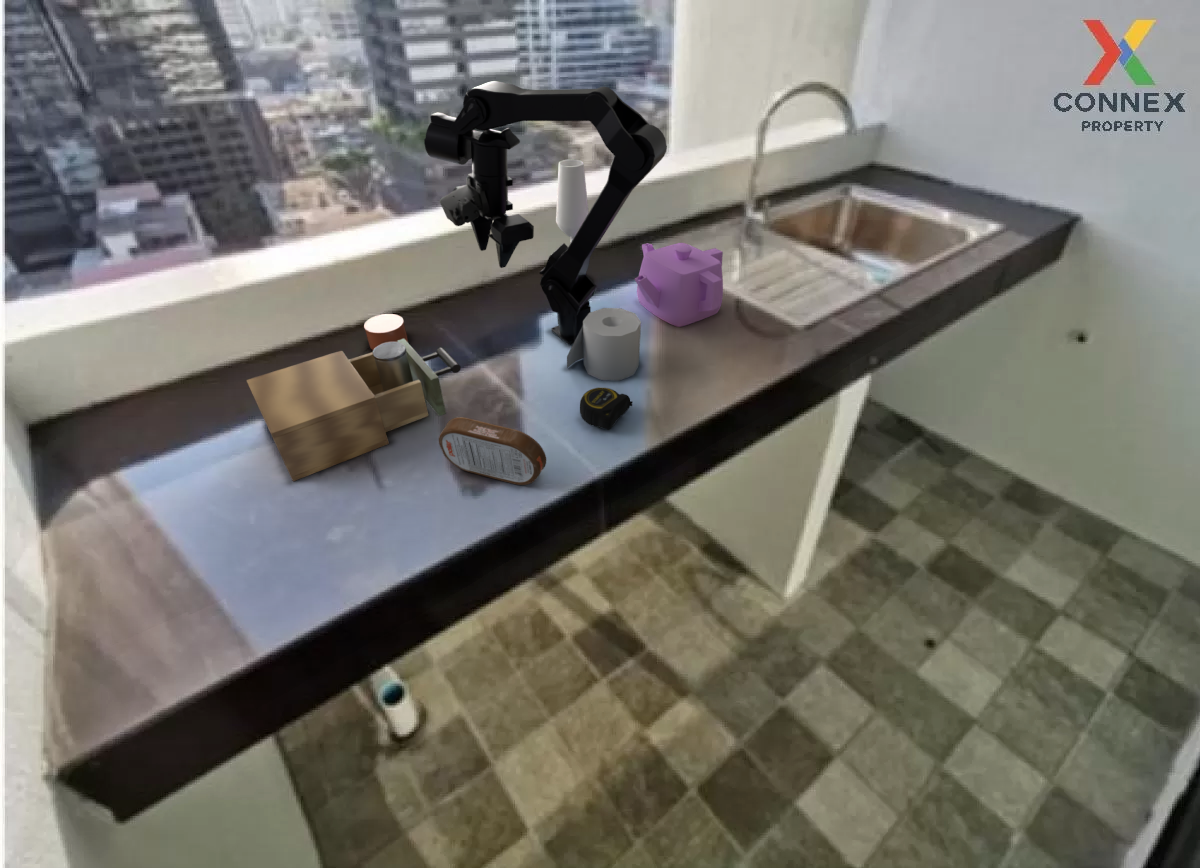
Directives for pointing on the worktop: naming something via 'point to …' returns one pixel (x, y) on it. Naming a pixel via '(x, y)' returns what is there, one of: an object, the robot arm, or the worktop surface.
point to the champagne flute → (571, 197)
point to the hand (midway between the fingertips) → (492, 258)
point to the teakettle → (680, 283)
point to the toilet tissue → (608, 344)
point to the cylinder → (392, 365)
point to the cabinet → (319, 413)
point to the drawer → (407, 387)
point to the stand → (385, 329)
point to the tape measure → (603, 407)
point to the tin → (492, 451)
